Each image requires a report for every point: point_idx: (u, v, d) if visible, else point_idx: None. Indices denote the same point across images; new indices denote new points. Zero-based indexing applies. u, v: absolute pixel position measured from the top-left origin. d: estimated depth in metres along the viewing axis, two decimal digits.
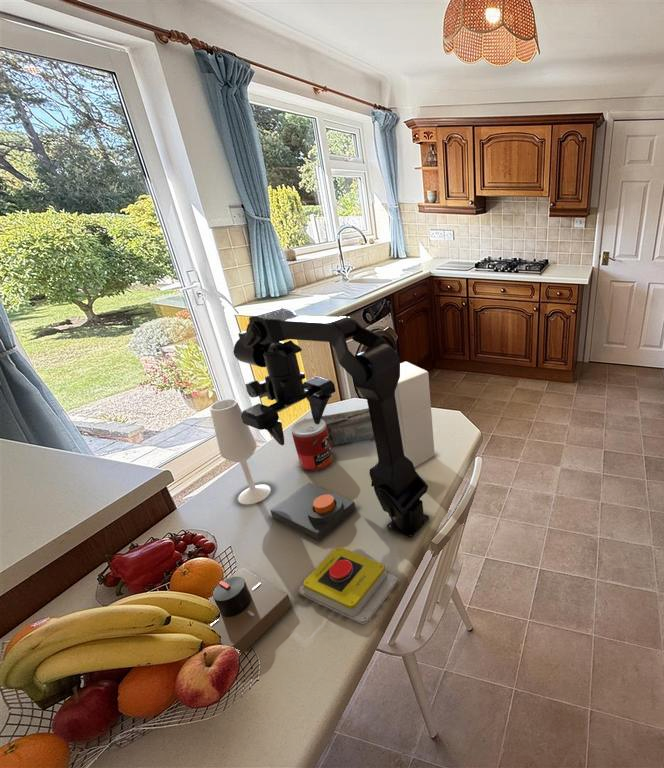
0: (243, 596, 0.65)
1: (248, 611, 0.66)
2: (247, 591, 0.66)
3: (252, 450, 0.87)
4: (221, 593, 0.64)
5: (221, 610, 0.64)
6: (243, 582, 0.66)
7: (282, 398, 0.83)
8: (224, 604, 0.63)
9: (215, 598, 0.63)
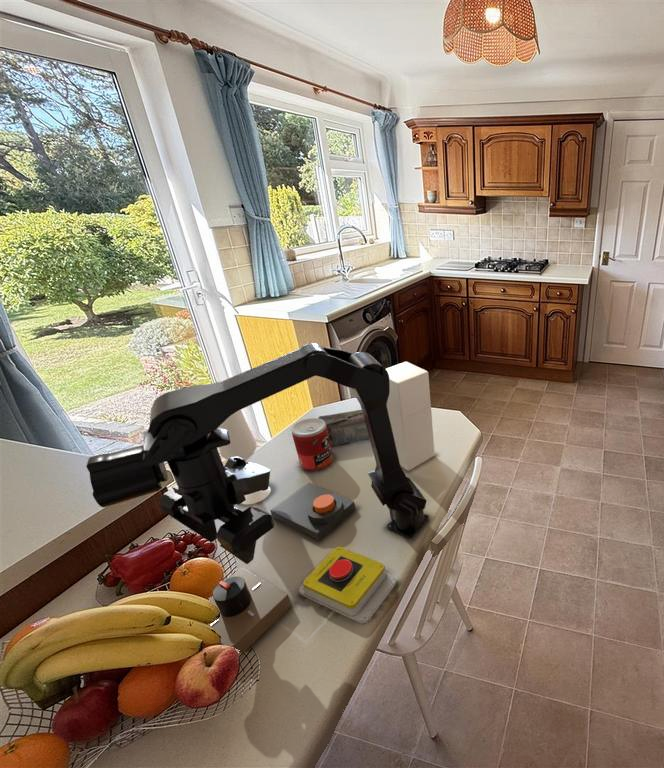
0: (243, 596, 0.65)
1: (248, 611, 0.66)
2: (247, 591, 0.66)
3: (252, 450, 0.87)
4: (221, 593, 0.64)
5: (221, 610, 0.64)
6: (243, 582, 0.66)
7: None
8: (224, 604, 0.63)
9: (215, 598, 0.63)
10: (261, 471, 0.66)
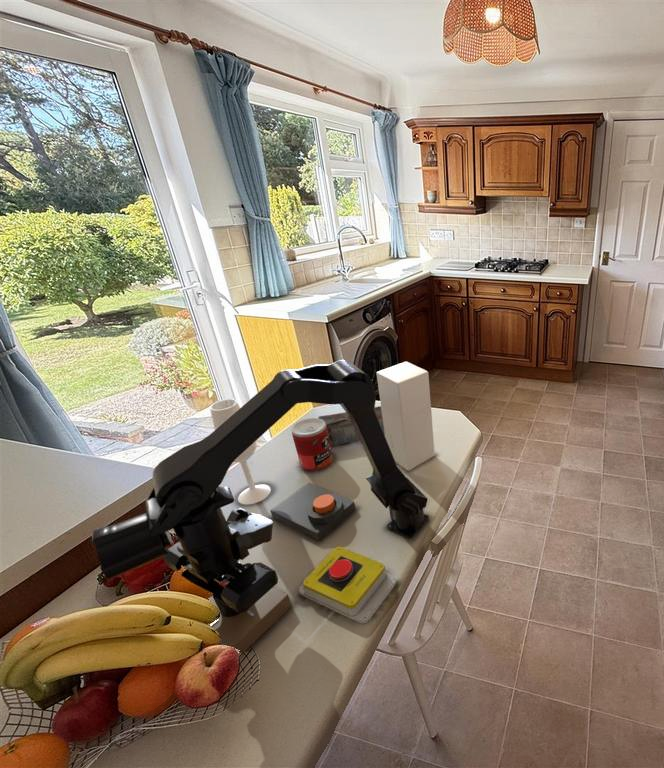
0: None
1: (248, 611, 0.66)
2: None
3: (252, 450, 0.87)
4: None
5: (221, 610, 0.64)
6: None
7: None
8: (224, 604, 0.63)
9: (215, 598, 0.63)
10: (264, 523, 0.66)
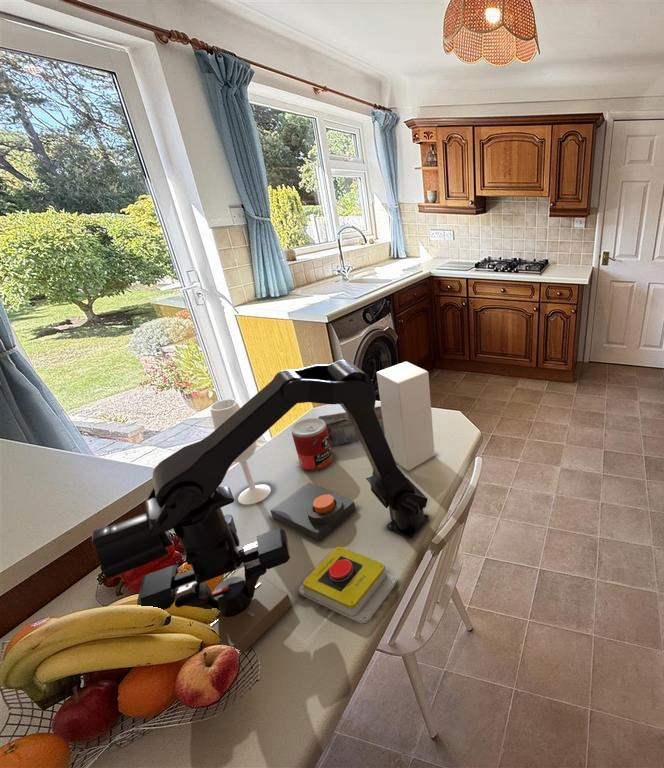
0: None
1: (248, 611, 0.66)
2: None
3: (252, 450, 0.87)
4: (227, 594, 0.64)
5: (236, 608, 0.65)
6: (236, 577, 0.67)
7: (194, 570, 0.59)
8: (240, 597, 0.65)
9: (228, 598, 0.63)
10: (225, 518, 0.67)
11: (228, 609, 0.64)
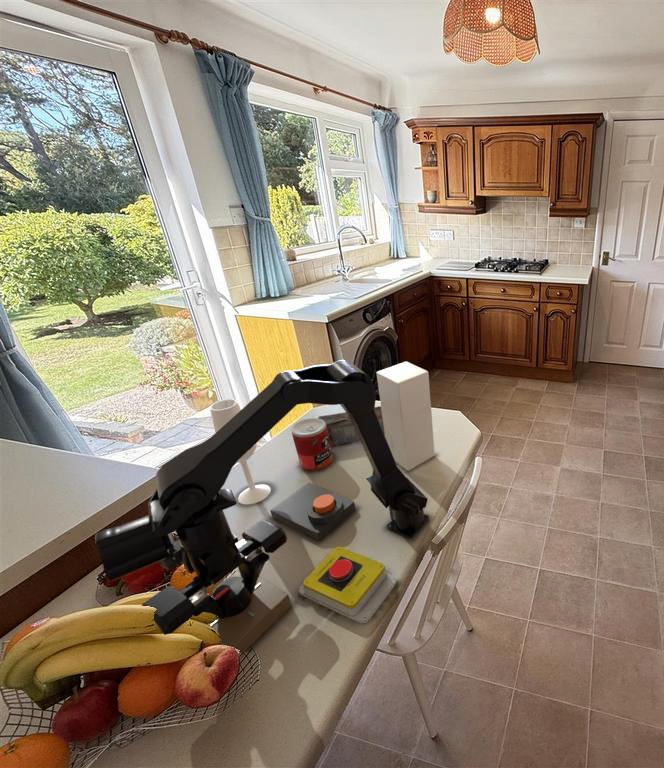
0: None
1: (248, 611, 0.66)
2: None
3: (252, 450, 0.87)
4: (232, 591, 0.64)
5: (244, 601, 0.66)
6: (228, 578, 0.66)
7: (204, 575, 0.59)
8: (245, 590, 0.66)
9: (236, 594, 0.64)
10: None
11: (237, 605, 0.65)
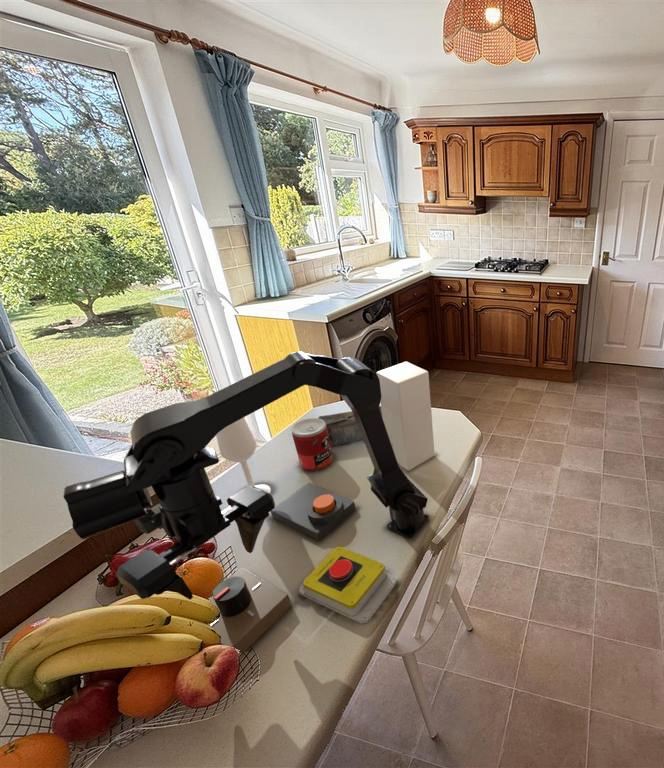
0: None
1: (248, 611, 0.66)
2: None
3: (252, 450, 0.87)
4: (232, 591, 0.64)
5: (244, 601, 0.66)
6: (228, 578, 0.66)
7: (185, 538, 0.56)
8: (245, 590, 0.66)
9: (236, 594, 0.64)
10: None
11: (237, 605, 0.65)
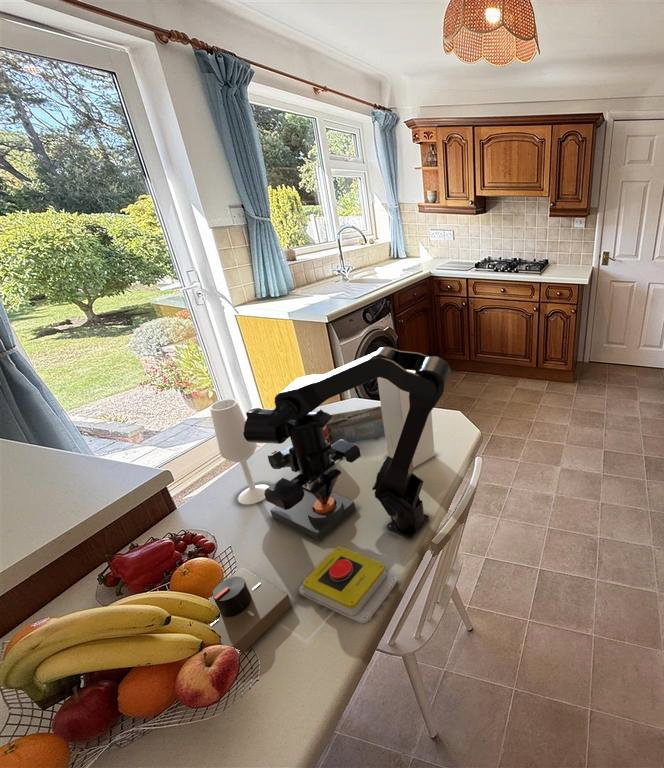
0: None
1: (248, 611, 0.66)
2: None
3: (252, 450, 0.87)
4: (232, 591, 0.64)
5: (244, 601, 0.66)
6: (228, 578, 0.66)
7: (307, 471, 0.78)
8: (245, 590, 0.66)
9: (236, 594, 0.64)
10: None
11: (237, 605, 0.65)
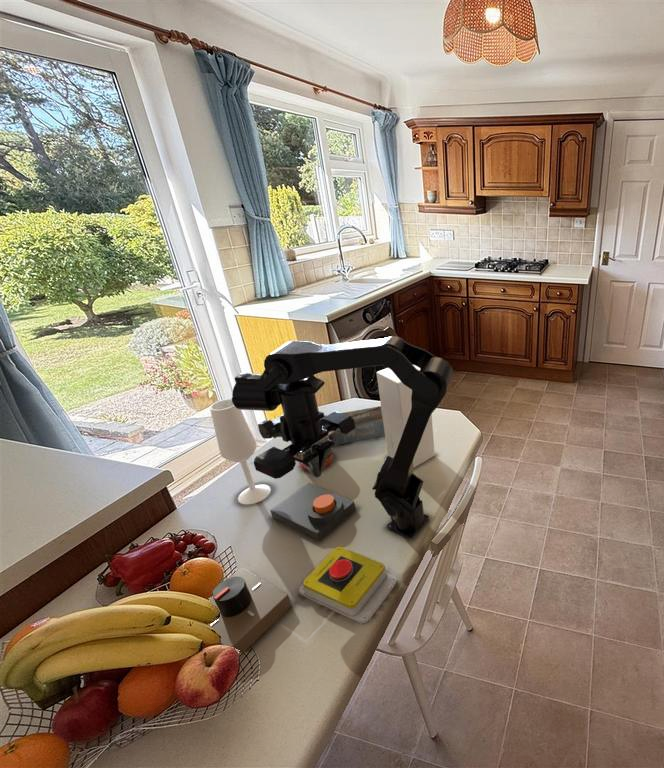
0: None
1: (248, 611, 0.66)
2: None
3: (252, 450, 0.87)
4: (232, 591, 0.64)
5: (244, 601, 0.66)
6: (228, 578, 0.66)
7: (299, 440, 0.74)
8: (245, 590, 0.66)
9: (236, 594, 0.64)
10: None
11: (237, 605, 0.65)
